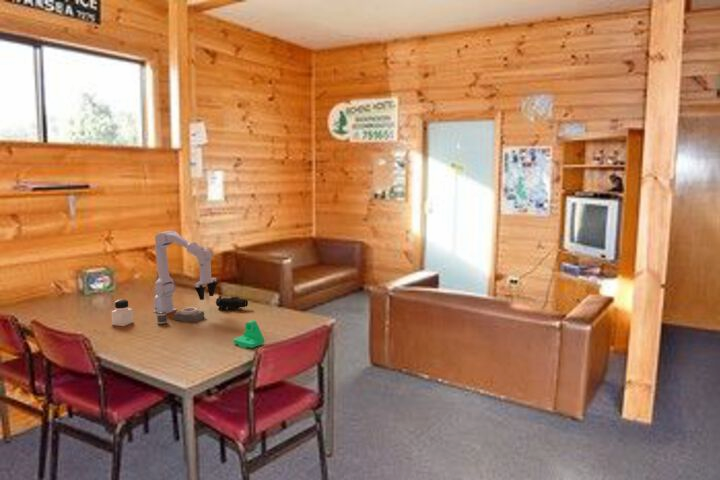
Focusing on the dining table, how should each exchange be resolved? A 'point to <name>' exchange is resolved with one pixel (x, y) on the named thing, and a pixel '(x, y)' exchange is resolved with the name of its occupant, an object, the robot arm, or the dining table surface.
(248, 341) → the camera mount
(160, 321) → the lens
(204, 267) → the robot arm
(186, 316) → the camera body
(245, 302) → the night vision scope
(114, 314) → the medicine bottle
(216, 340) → the dining table surface
